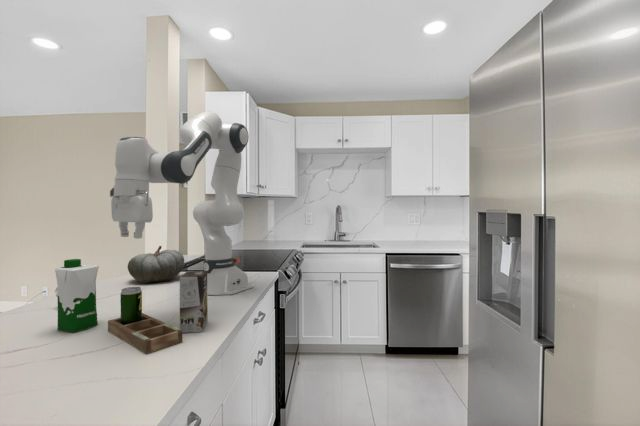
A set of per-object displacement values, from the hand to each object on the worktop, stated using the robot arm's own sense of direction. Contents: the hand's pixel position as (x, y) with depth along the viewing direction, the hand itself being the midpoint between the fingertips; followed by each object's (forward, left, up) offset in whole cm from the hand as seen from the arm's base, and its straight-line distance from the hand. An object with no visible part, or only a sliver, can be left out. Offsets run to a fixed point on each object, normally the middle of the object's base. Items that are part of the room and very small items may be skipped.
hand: (131, 237), depth 96 cm
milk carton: (+10, -13, -27) cm, 31 cm away
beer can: (+1, +2, -27) cm, 27 cm away
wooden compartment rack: (+1, +10, -27) cm, 28 cm away
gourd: (-35, -60, -27) cm, 74 cm away
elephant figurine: (+4, -39, -27) cm, 47 cm away
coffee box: (-12, +14, -27) cm, 33 cm away
